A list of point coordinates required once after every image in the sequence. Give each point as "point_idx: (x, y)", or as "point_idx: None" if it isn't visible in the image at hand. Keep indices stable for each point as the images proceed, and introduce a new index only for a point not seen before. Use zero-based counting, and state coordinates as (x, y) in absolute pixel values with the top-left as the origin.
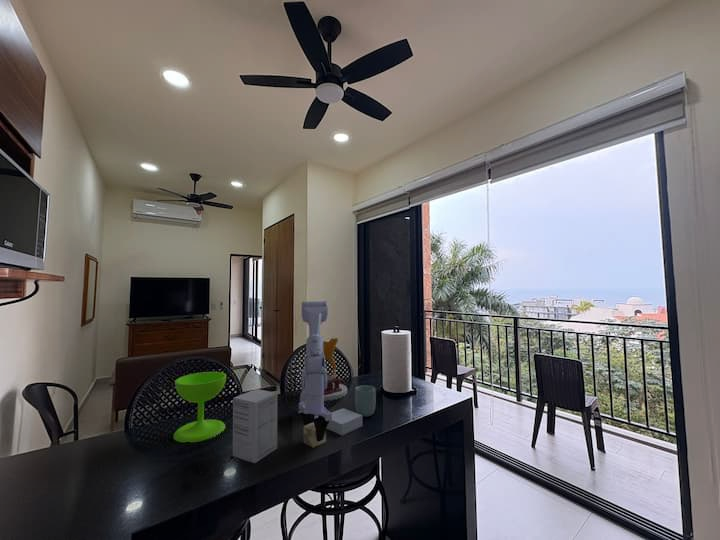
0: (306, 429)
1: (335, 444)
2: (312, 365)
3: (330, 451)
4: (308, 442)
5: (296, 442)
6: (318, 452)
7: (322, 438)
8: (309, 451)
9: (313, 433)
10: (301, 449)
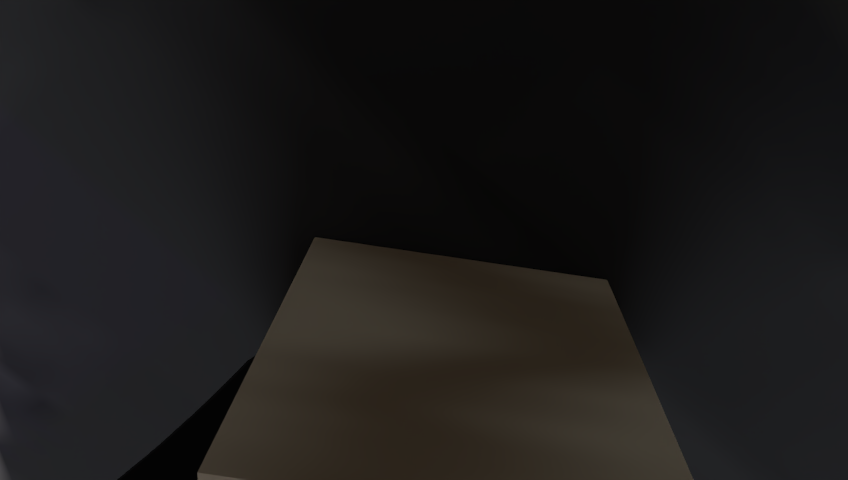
0: (549, 473)
1: None
2: None
3: (12, 296)
4: (455, 281)
5: (732, 211)
6: (115, 171)
7: None
8: (263, 105)
9: (226, 418)
10: (449, 70)
